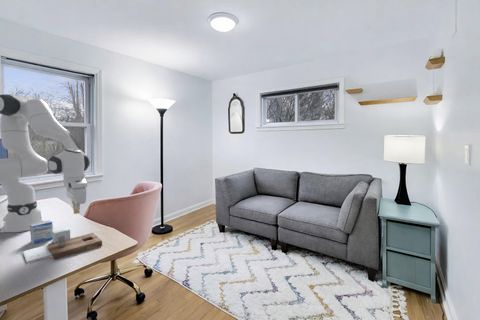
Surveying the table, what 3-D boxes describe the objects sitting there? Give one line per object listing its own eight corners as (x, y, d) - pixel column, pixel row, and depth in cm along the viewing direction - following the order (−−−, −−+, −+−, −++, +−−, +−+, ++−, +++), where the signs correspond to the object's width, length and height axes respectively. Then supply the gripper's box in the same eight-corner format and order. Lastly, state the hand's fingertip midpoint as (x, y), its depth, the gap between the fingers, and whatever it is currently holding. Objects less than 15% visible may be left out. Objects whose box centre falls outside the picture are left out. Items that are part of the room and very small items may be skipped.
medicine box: (33, 244, 113) (31, 226, 112) (30, 241, 116) (29, 224, 115) (53, 238, 120) (52, 221, 119) (50, 236, 122) (49, 219, 121)
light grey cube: (55, 245, 112) (54, 233, 111) (52, 241, 116) (51, 229, 115) (70, 241, 116) (69, 229, 116) (67, 237, 120) (66, 226, 120)
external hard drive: (46, 248, 111) (52, 257, 102) (22, 254, 105) (27, 265, 96) (46, 245, 110) (52, 254, 102) (22, 251, 104) (26, 261, 96)
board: (48, 249, 108) (47, 235, 107) (93, 237, 121) (92, 225, 121) (54, 259, 99) (53, 244, 99) (102, 245, 112) (101, 232, 112)
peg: (73, 213, 120) (72, 201, 119) (78, 211, 122) (78, 200, 121) (74, 214, 118) (73, 202, 118) (80, 213, 120) (79, 201, 120)
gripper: (62, 179, 123) (63, 205, 125) (72, 186, 109) (74, 215, 111) (76, 177, 128) (77, 203, 129) (88, 184, 114) (89, 212, 115)
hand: (76, 208), depth 120 cm, fingers closed on peg, 2 cm apart
